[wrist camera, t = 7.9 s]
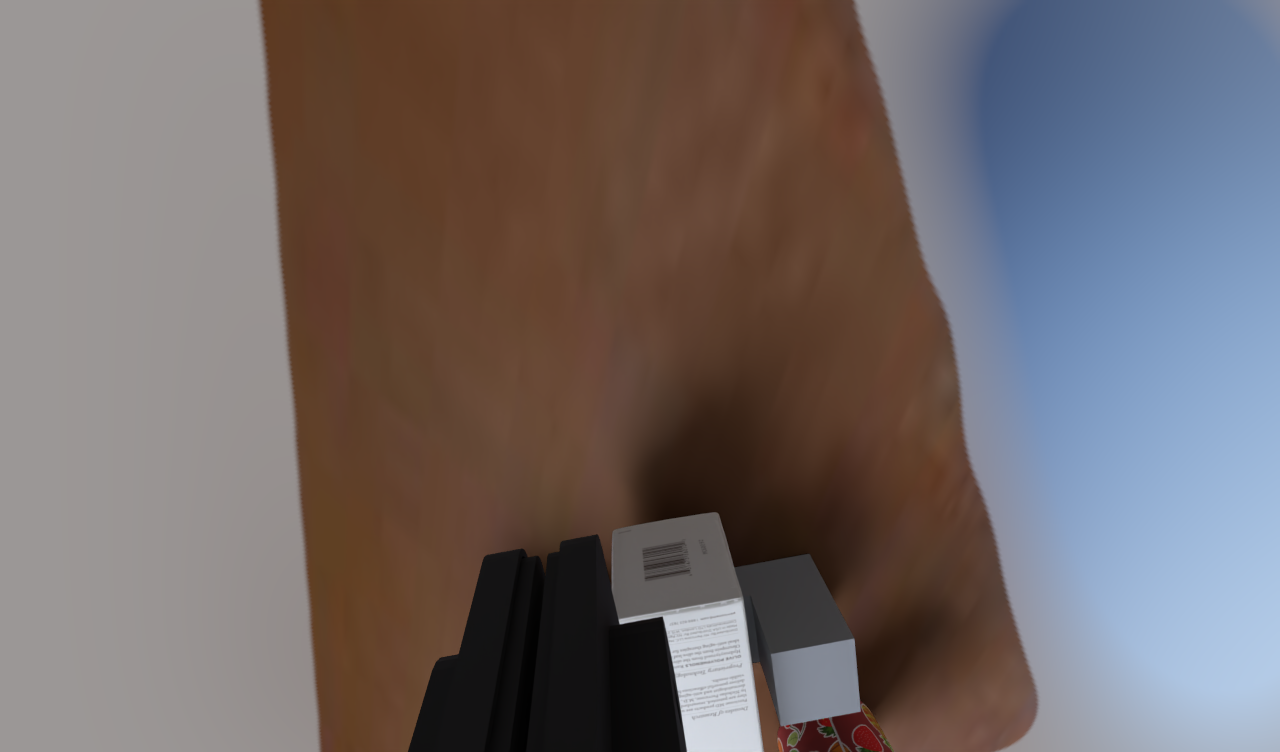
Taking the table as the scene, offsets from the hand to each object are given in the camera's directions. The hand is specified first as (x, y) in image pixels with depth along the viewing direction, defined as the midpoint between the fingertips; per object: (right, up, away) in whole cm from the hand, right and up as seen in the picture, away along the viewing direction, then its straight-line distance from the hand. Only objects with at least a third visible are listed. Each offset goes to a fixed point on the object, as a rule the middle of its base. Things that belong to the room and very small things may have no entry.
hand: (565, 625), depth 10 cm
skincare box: (+2, -6, +24) cm, 25 cm away
